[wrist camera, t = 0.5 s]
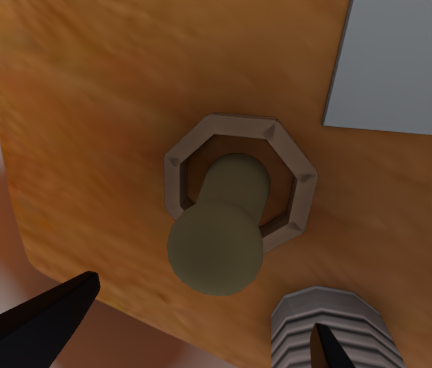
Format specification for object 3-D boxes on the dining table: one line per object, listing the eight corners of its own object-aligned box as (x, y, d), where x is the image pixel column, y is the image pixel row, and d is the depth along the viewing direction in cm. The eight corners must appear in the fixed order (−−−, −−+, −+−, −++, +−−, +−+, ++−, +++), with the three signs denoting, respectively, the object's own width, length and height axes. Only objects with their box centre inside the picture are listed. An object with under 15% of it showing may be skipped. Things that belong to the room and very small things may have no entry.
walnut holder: (324, 121, 17) (331, 125, 15) (293, 252, 22) (295, 266, 20) (172, 109, 19) (162, 110, 18) (173, 230, 24) (166, 241, 22)
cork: (209, 147, 20) (150, 199, 10) (278, 159, 19) (287, 232, 9) (201, 206, 22) (147, 296, 12) (262, 220, 22) (257, 329, 12)
